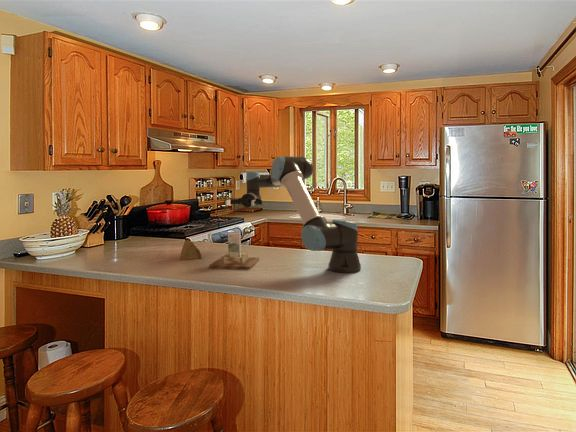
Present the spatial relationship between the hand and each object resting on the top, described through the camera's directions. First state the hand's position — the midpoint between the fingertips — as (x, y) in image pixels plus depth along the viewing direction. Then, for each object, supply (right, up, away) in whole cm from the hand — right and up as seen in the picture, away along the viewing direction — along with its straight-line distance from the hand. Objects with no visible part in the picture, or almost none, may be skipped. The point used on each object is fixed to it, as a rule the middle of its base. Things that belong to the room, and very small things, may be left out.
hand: (239, 203), depth 222 cm
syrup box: (-1, -29, -6) cm, 30 cm away
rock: (-26, -29, +7) cm, 40 cm away
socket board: (-1, -30, -6) cm, 31 cm away
